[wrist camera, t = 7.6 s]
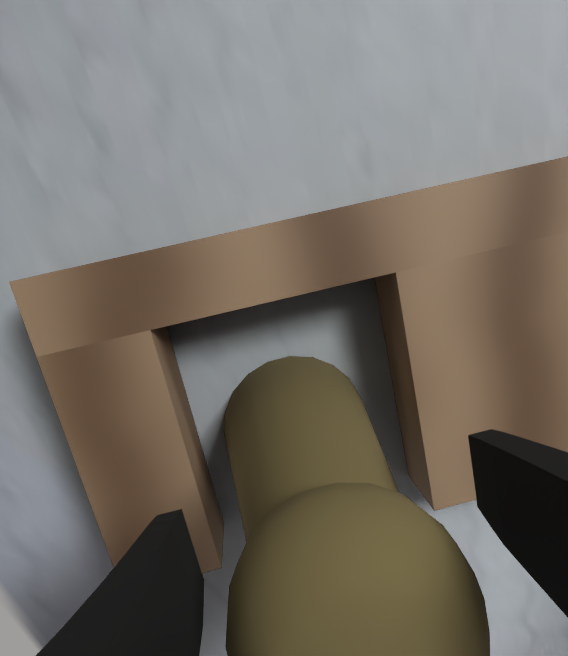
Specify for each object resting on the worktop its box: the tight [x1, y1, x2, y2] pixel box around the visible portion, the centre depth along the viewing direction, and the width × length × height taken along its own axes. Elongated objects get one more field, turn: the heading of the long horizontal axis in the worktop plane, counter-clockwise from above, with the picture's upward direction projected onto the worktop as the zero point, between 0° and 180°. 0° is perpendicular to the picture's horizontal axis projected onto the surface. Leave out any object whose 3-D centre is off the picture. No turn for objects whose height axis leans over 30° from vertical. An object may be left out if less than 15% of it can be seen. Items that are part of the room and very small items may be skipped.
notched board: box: [9, 157, 568, 573], centre depth 16 cm, size 22×12×2 cm, turn 102°
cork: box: [224, 356, 490, 656], centre depth 12 cm, size 6×6×11 cm
